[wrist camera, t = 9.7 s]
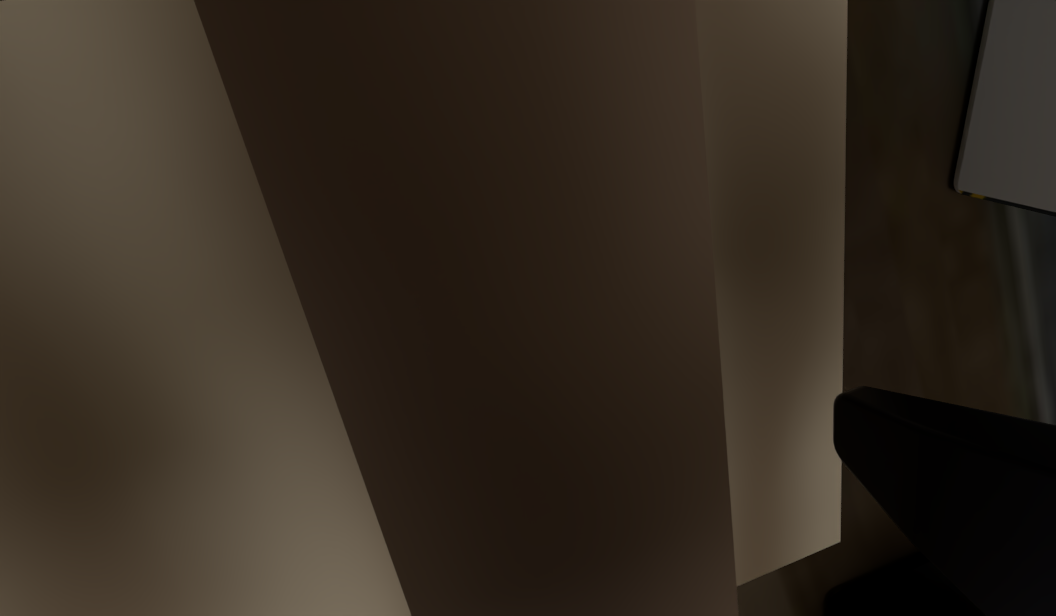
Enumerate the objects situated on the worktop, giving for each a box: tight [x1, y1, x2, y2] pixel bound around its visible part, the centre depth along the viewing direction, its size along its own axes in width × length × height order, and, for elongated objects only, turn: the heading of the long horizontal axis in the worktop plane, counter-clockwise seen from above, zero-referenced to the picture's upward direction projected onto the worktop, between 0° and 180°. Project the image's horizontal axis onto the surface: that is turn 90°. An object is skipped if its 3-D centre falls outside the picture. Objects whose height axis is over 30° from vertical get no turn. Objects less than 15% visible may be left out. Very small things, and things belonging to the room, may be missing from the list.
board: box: [0, 0, 848, 616], centre depth 14 cm, size 17×15×4 cm
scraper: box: [194, 0, 739, 616], centre depth 10 cm, size 4×14×5 cm, turn 10°
